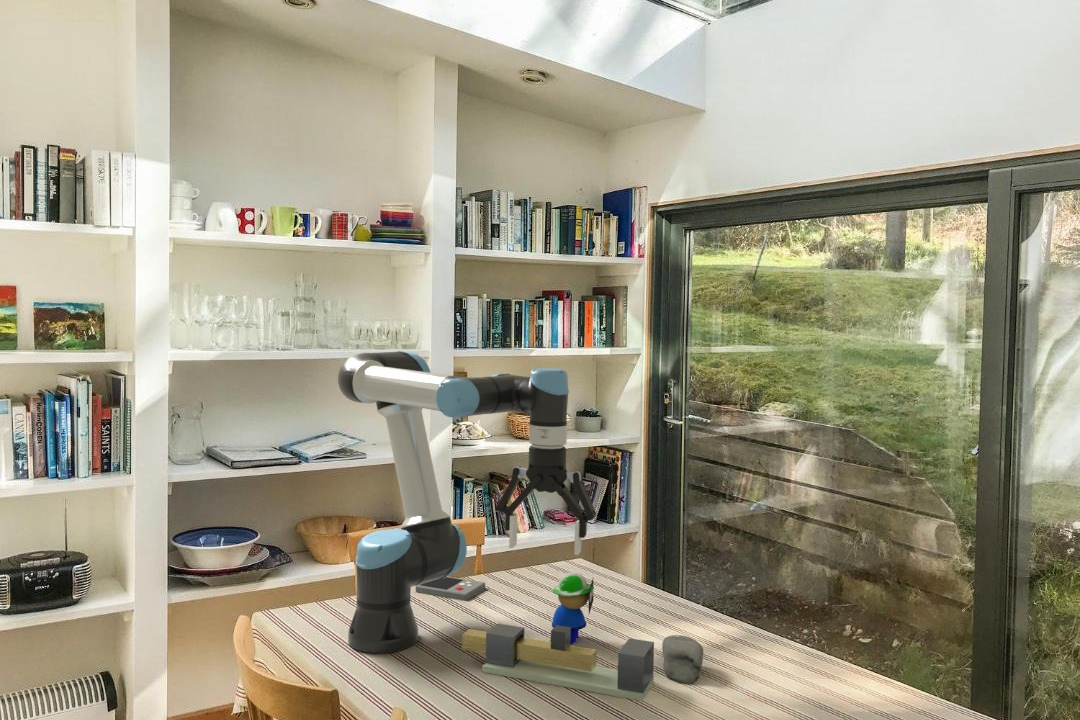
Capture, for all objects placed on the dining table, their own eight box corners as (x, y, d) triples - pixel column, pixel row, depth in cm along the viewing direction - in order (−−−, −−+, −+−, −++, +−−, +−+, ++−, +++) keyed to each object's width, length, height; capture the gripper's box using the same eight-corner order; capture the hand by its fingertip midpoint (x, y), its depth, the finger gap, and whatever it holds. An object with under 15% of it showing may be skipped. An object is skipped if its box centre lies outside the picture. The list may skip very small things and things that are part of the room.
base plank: (482, 671, 171) (482, 666, 171) (500, 655, 180) (500, 649, 180) (642, 700, 159) (642, 694, 159) (653, 681, 168) (653, 675, 168)
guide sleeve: (485, 663, 173) (486, 633, 172) (497, 652, 178) (497, 623, 178) (512, 667, 171) (513, 637, 170) (524, 657, 176) (524, 627, 176)
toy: (590, 648, 184) (591, 580, 183) (548, 645, 186) (549, 577, 185) (595, 633, 193) (596, 568, 192) (555, 630, 195) (556, 565, 194)
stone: (653, 679, 169) (659, 627, 173) (661, 683, 177) (666, 634, 180) (698, 687, 166) (704, 634, 170) (704, 691, 174) (709, 640, 177)
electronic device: (465, 593, 214) (415, 585, 220) (465, 603, 214) (415, 594, 220) (485, 581, 223) (436, 573, 229) (485, 590, 223) (436, 582, 229)
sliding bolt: (462, 649, 176) (462, 616, 176) (468, 643, 179) (469, 611, 179) (591, 671, 166) (591, 636, 166) (596, 665, 169) (596, 631, 169)
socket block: (617, 689, 162) (618, 652, 161) (628, 672, 169) (629, 638, 169) (643, 693, 160) (643, 657, 159) (653, 676, 167) (654, 641, 167)
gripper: (482, 444, 171) (480, 548, 172) (605, 452, 164) (601, 561, 165) (494, 438, 178) (492, 538, 179) (612, 447, 171) (609, 550, 172)
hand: (544, 549), depth 172 cm, fingers open, 13 cm apart
